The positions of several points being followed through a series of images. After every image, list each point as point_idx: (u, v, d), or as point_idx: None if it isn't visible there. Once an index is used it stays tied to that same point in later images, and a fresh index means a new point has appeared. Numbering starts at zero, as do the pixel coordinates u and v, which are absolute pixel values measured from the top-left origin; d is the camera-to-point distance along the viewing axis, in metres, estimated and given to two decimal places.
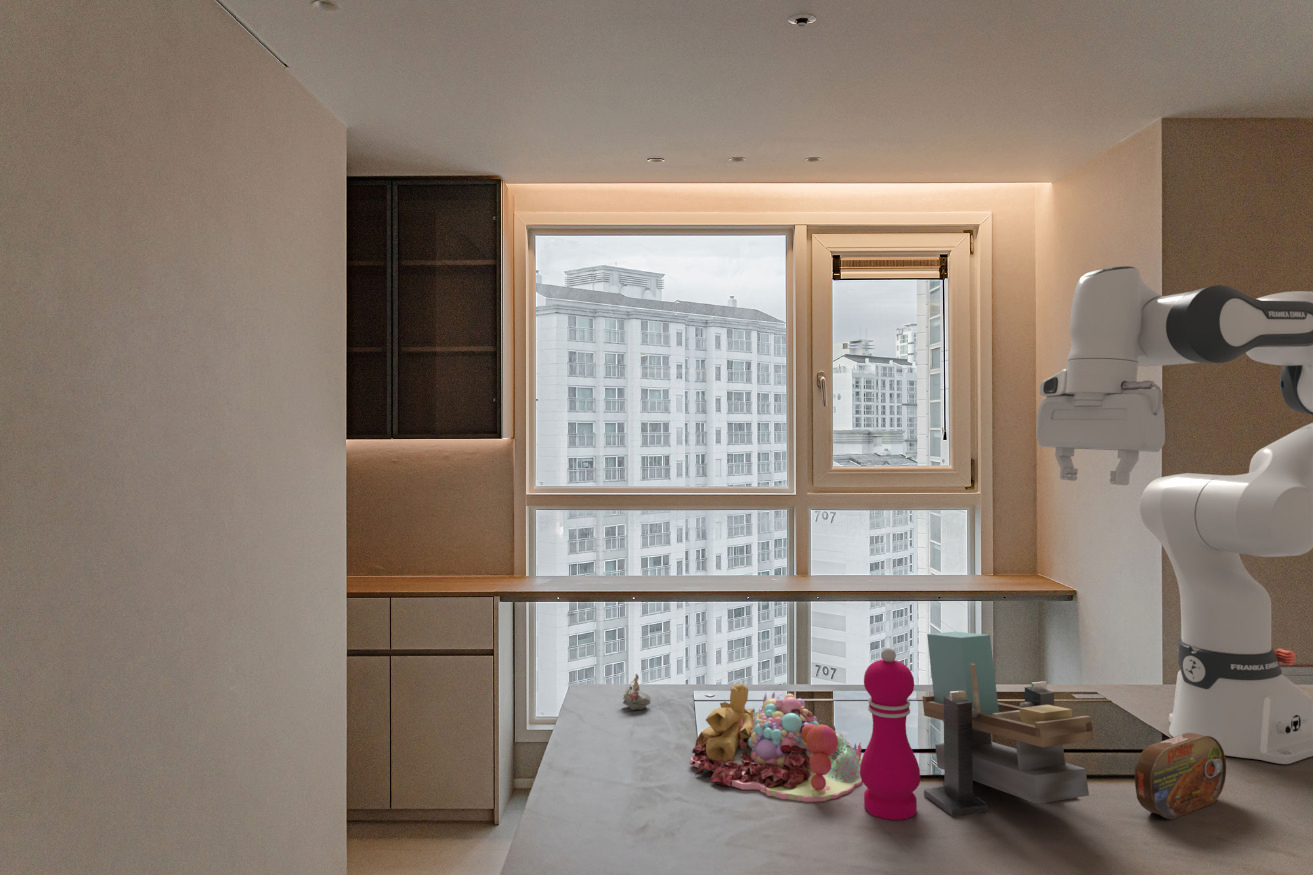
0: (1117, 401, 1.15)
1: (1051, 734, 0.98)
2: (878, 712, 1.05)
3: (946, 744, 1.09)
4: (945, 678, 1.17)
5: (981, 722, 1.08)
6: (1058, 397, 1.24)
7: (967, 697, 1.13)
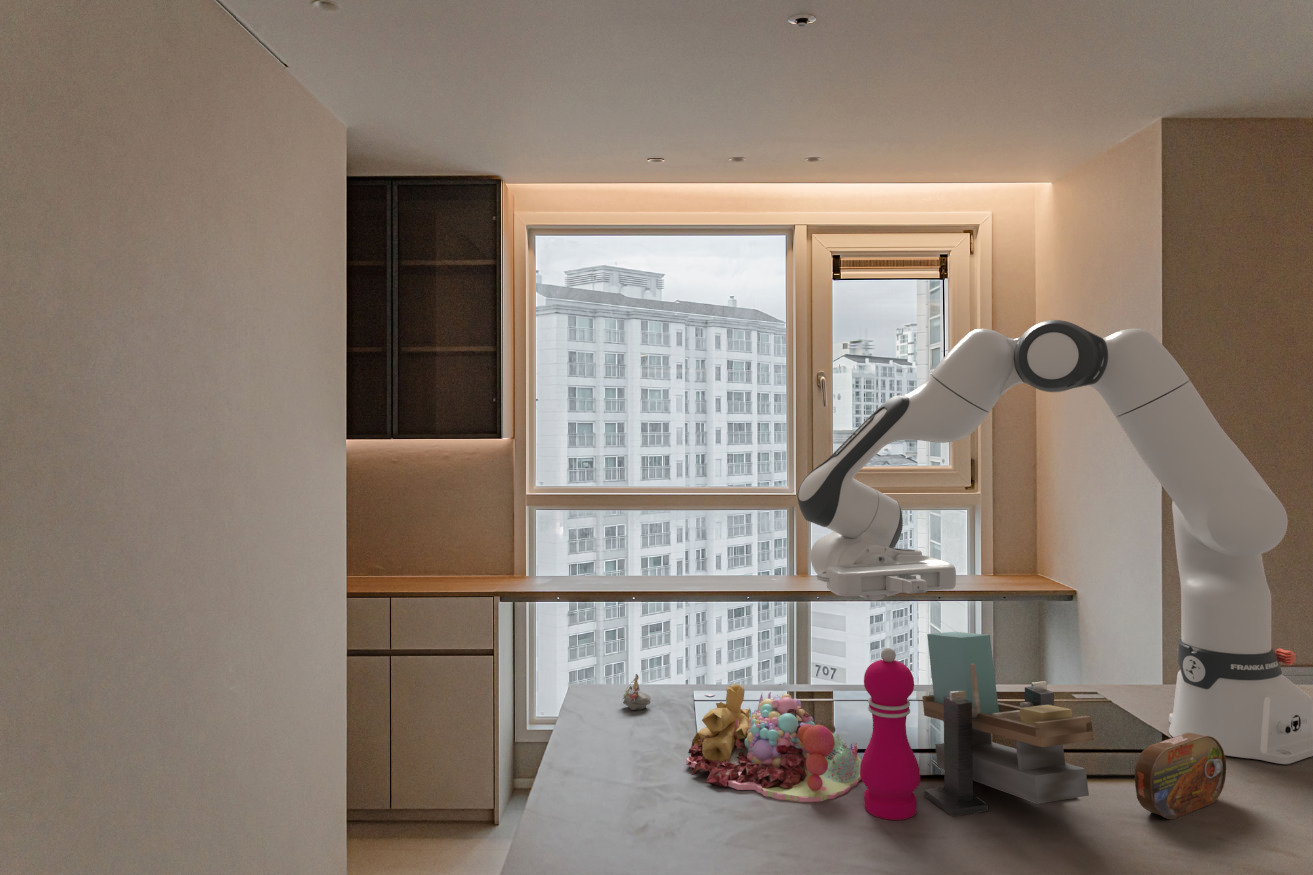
0: None
1: (1051, 734, 0.98)
2: (878, 712, 1.05)
3: (946, 744, 1.09)
4: (945, 678, 1.17)
5: (981, 722, 1.08)
6: None
7: (967, 697, 1.13)
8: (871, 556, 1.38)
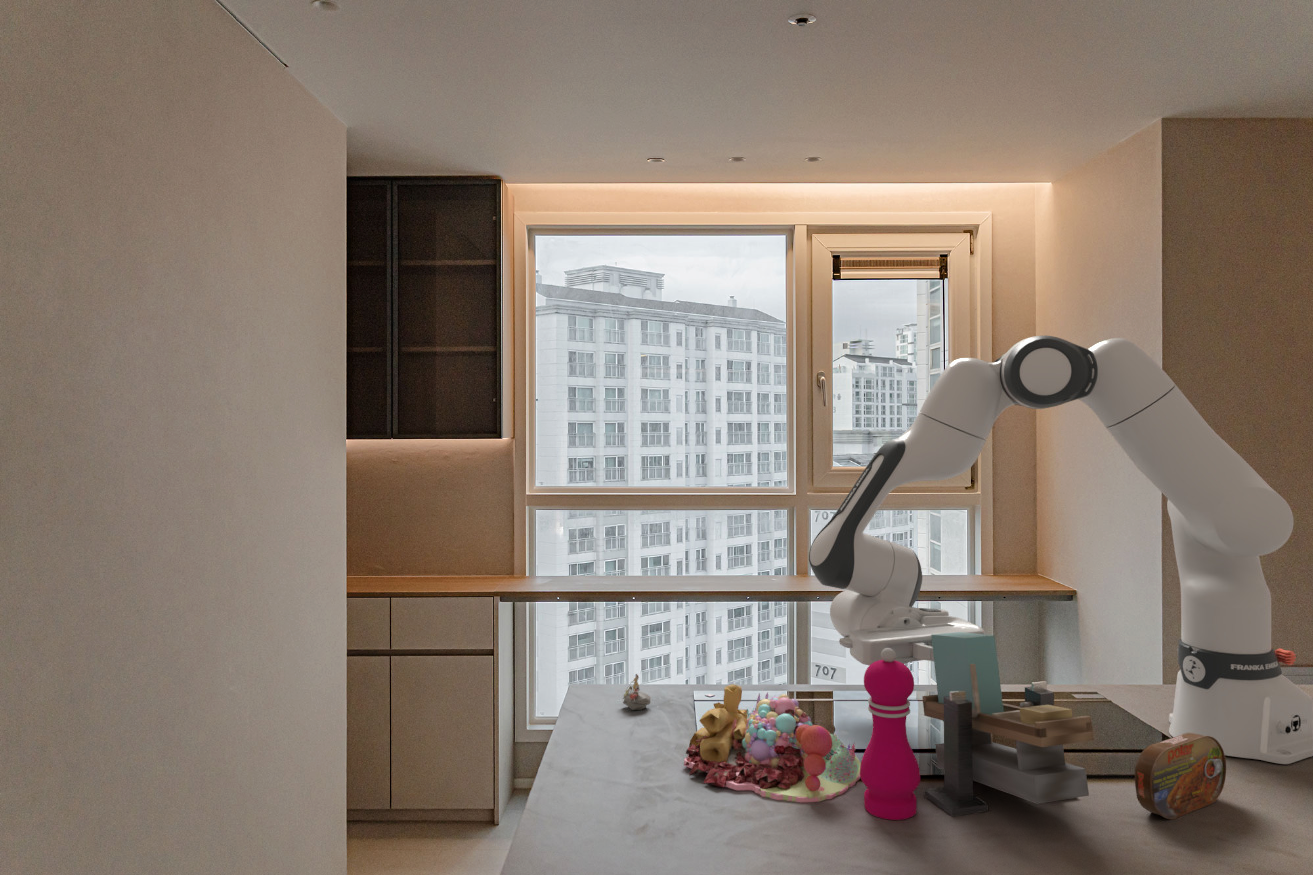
0: None
1: (1051, 734, 0.98)
2: (878, 712, 1.05)
3: (946, 744, 1.09)
4: (949, 679, 1.16)
5: (981, 722, 1.08)
6: None
7: (972, 698, 1.12)
8: (896, 619, 1.31)
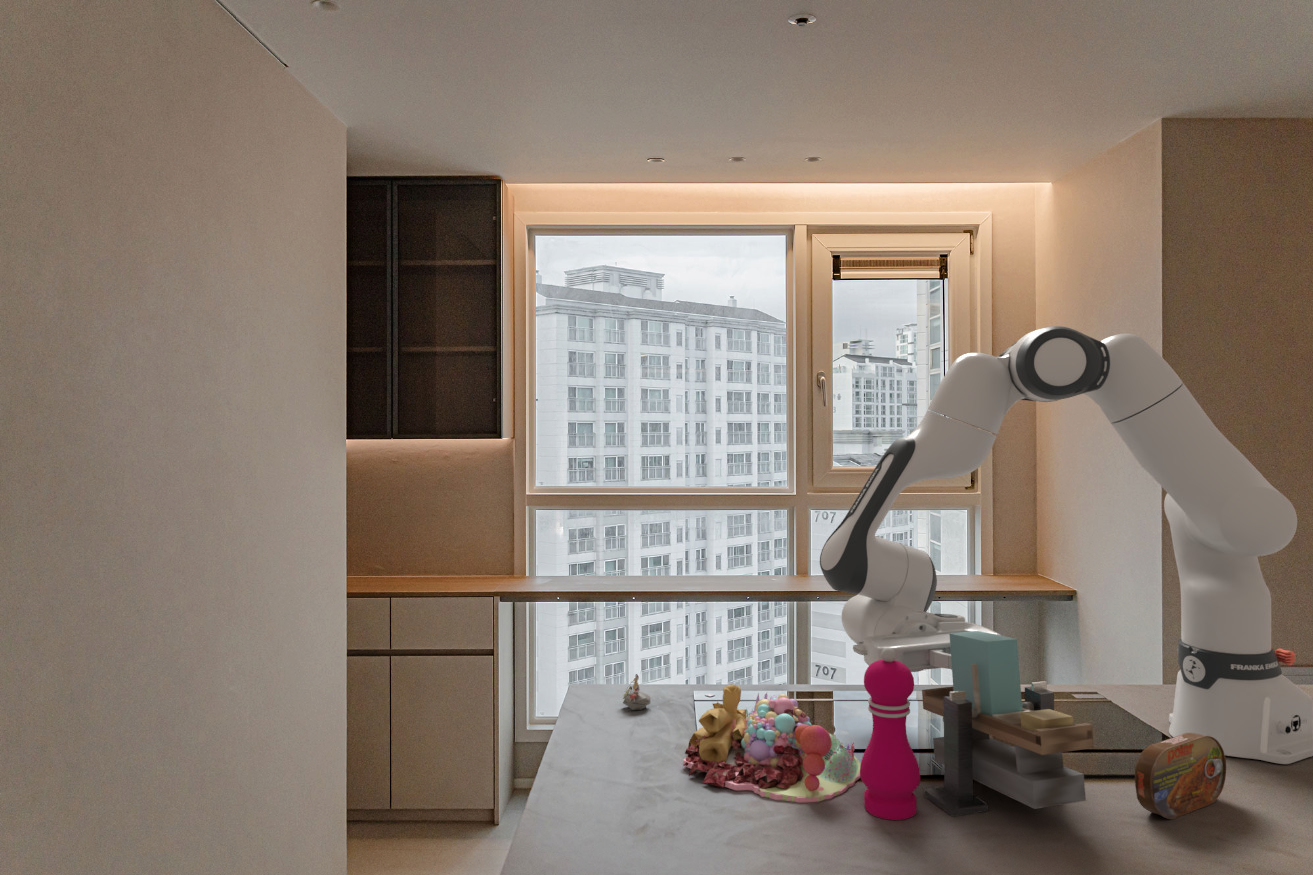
0: None
1: (1051, 742, 0.98)
2: (878, 712, 1.05)
3: (946, 744, 1.09)
4: (967, 681, 1.12)
5: (980, 723, 1.08)
6: None
7: (991, 704, 1.08)
8: (911, 625, 1.27)
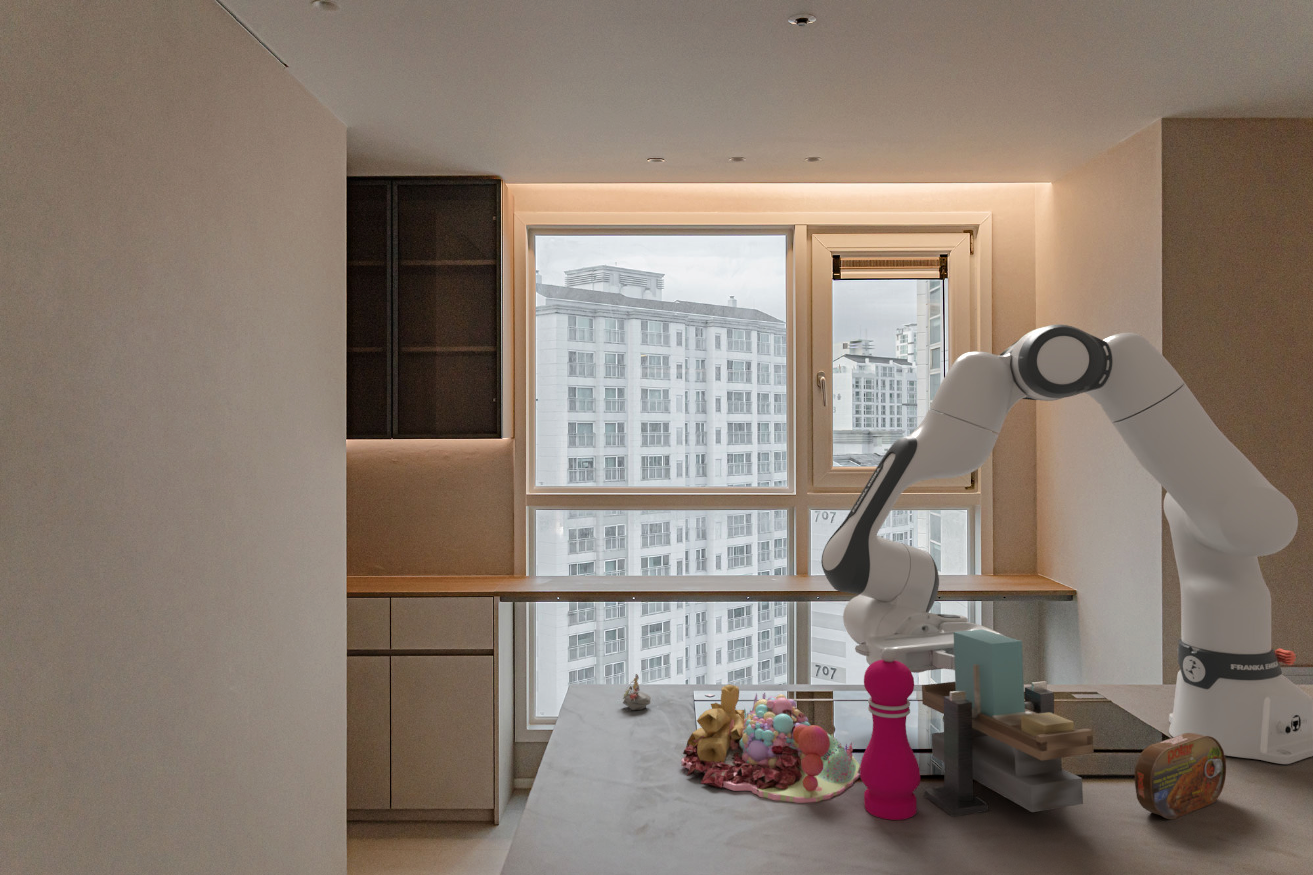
0: None
1: (1052, 748, 0.98)
2: (878, 712, 1.05)
3: (946, 744, 1.09)
4: (970, 681, 1.12)
5: (980, 723, 1.08)
6: None
7: (994, 705, 1.07)
8: (914, 625, 1.26)
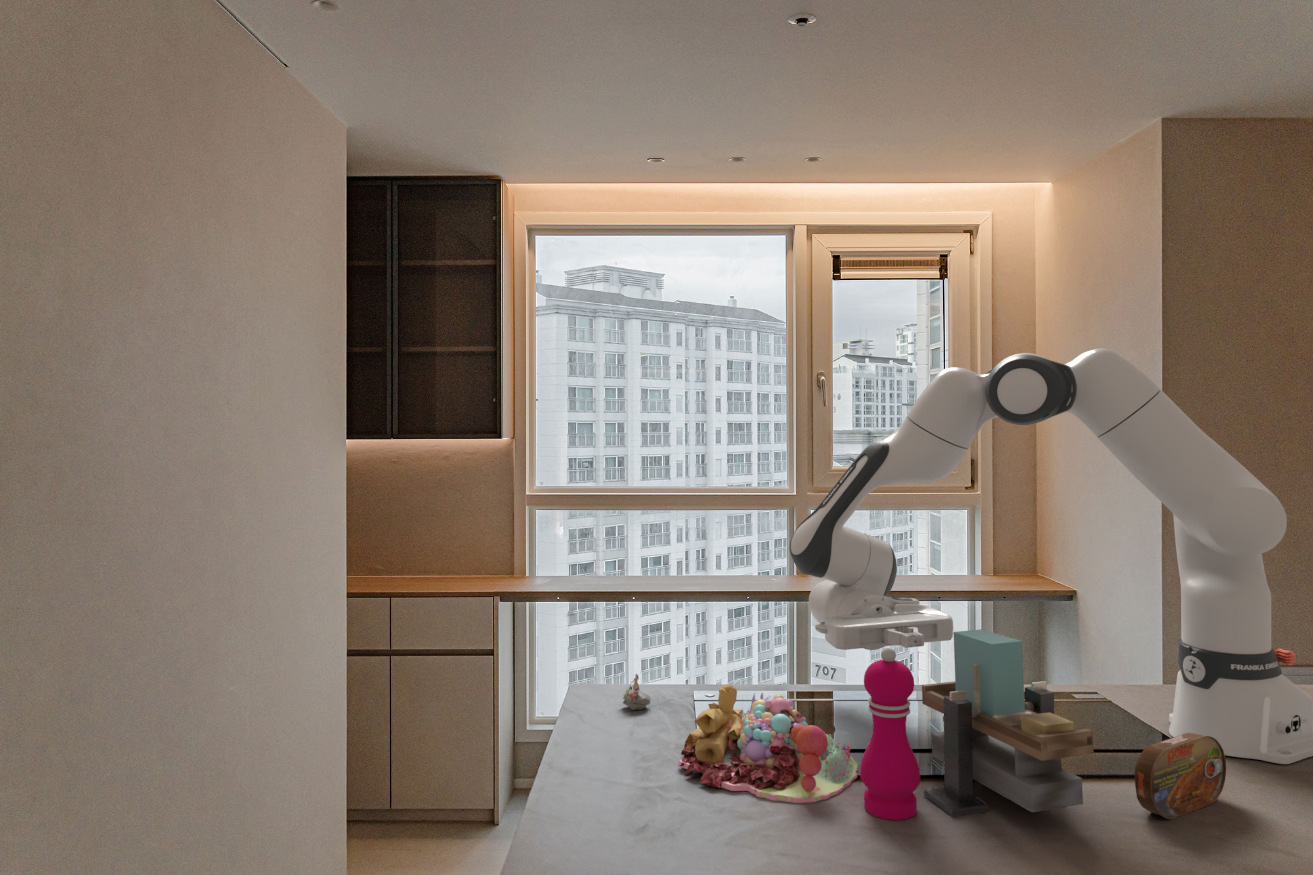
0: None
1: (1052, 748, 0.98)
2: (878, 712, 1.05)
3: (946, 744, 1.09)
4: (970, 681, 1.12)
5: (980, 723, 1.08)
6: None
7: (994, 705, 1.07)
8: (869, 606, 1.39)
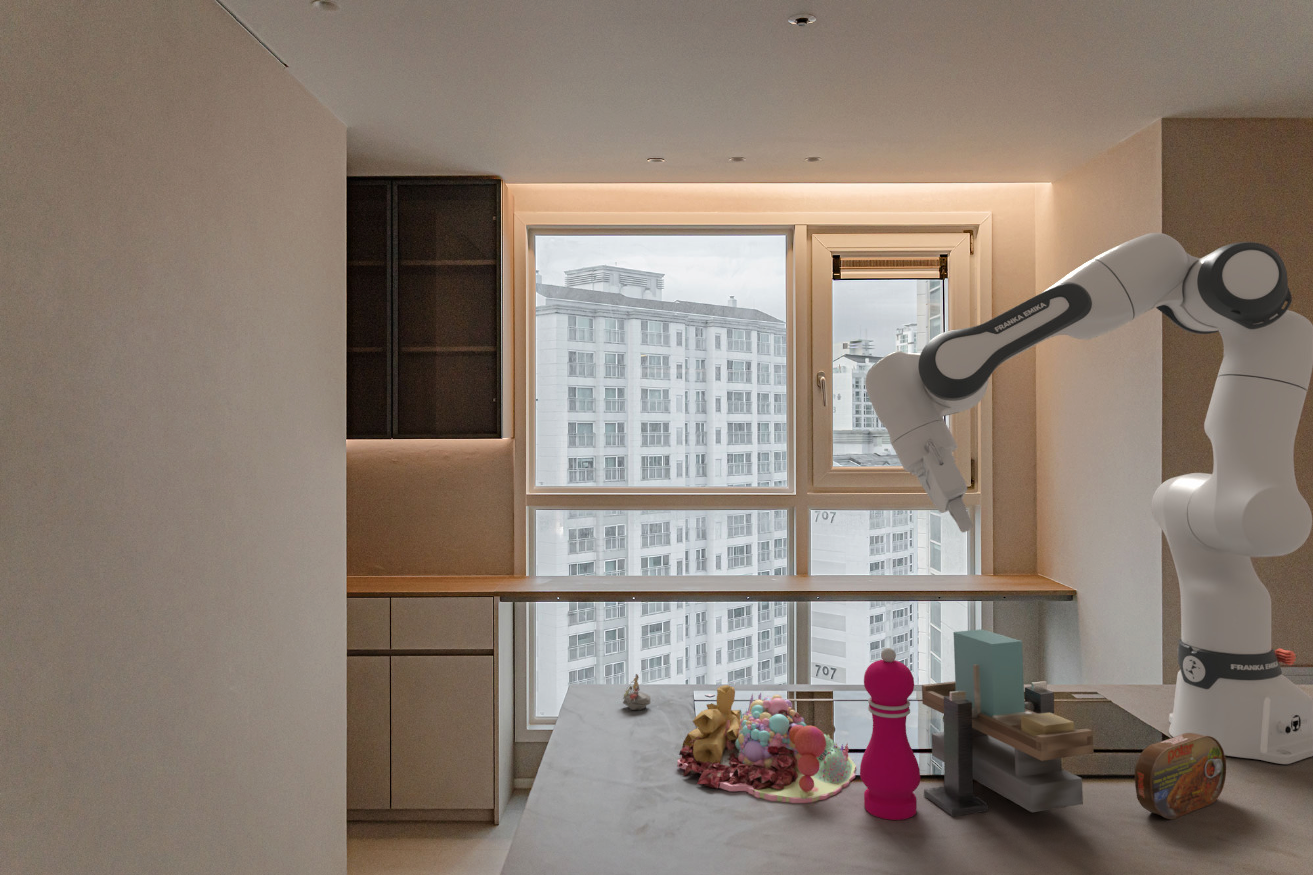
0: (924, 464, 1.30)
1: (1052, 748, 0.98)
2: (878, 712, 1.05)
3: (946, 744, 1.09)
4: (970, 681, 1.12)
5: (980, 723, 1.08)
6: (915, 473, 1.40)
7: (994, 705, 1.07)
8: (951, 454, 1.34)
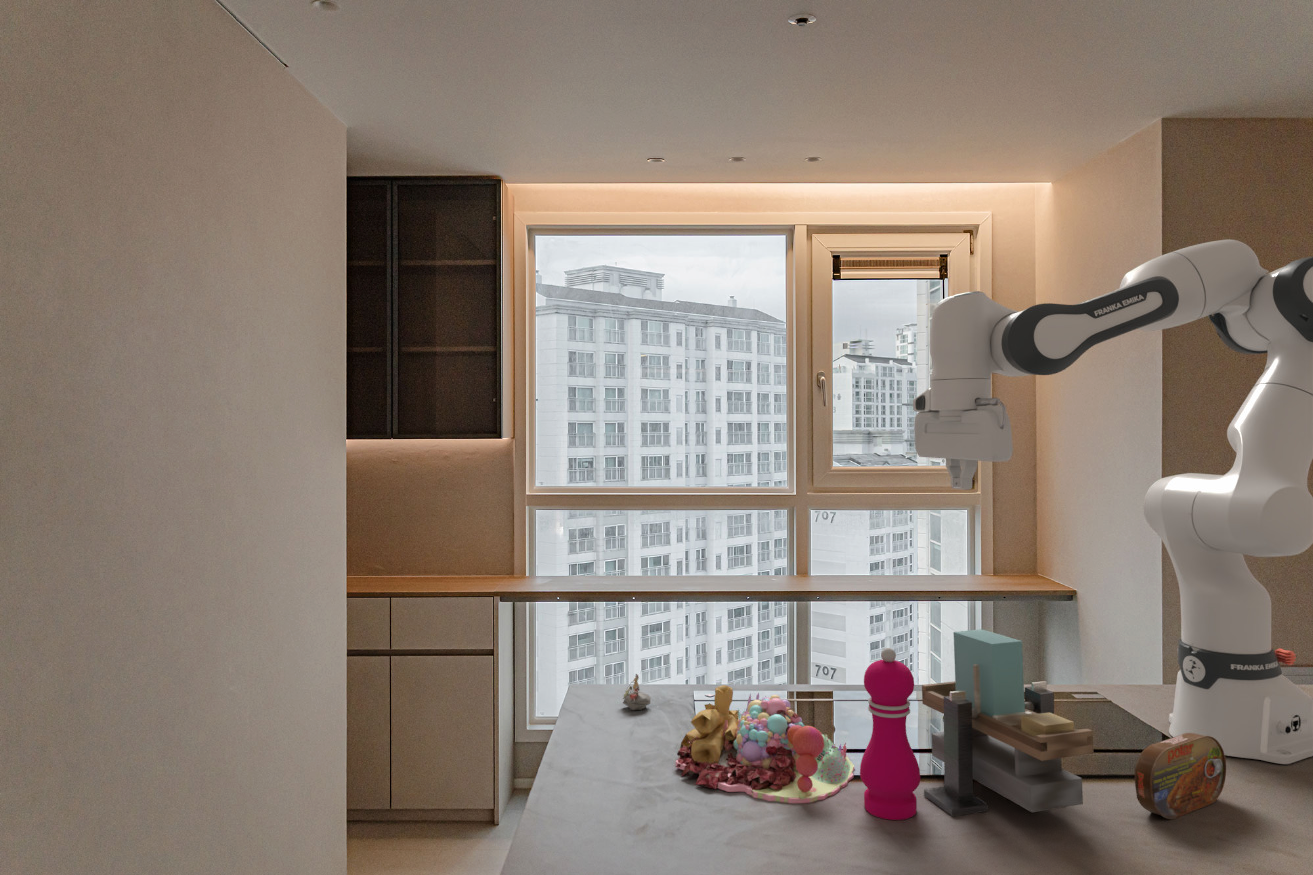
0: (971, 417, 1.27)
1: (1052, 748, 0.98)
2: (878, 712, 1.05)
3: (946, 744, 1.09)
4: (970, 681, 1.12)
5: (980, 723, 1.08)
6: (927, 413, 1.37)
7: (994, 705, 1.07)
8: None
